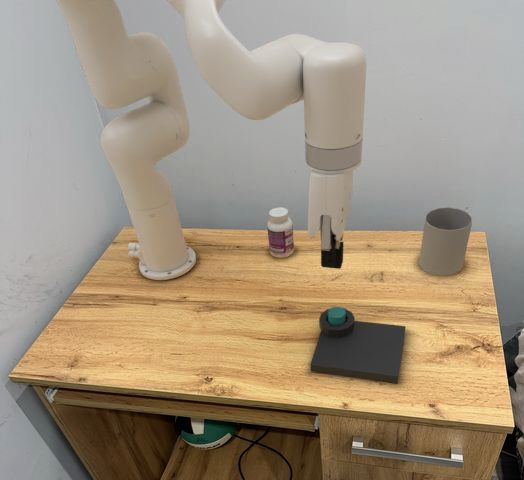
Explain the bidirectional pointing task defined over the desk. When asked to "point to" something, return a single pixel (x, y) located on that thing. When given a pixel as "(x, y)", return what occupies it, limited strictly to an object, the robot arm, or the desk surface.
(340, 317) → the button
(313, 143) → the robot arm
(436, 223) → the cup
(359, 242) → the desk surface
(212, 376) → the desk surface
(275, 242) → the pill bottle
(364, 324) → the scale
